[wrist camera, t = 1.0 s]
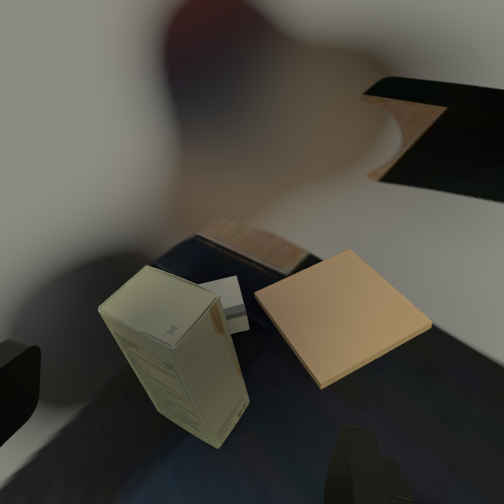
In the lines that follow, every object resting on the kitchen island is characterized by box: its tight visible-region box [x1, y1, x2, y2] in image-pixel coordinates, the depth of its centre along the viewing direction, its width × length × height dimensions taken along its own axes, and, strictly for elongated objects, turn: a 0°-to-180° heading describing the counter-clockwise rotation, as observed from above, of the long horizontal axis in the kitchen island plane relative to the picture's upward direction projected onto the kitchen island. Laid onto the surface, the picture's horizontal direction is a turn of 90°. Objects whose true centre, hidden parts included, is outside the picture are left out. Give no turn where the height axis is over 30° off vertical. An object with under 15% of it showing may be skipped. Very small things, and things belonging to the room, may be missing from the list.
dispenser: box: [198, 276, 250, 334], centre depth 37 cm, size 10×5×3 cm, turn 102°
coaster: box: [254, 249, 433, 389], centre depth 36 cm, size 11×11×1 cm
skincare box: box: [98, 266, 250, 449], centre depth 27 cm, size 6×4×12 cm
